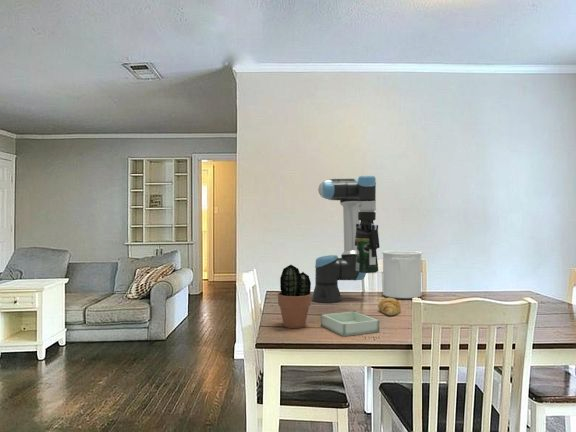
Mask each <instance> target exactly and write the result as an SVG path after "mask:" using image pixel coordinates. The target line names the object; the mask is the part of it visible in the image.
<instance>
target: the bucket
mask: <svg viewBox="0 0 576 432" xmlns="http://www.w3.org/2000/svg"><path fill="white" fill-rule="evenodd" d="M381 254H382V268H383V269H382V294H383V296H384V297H385V298H389V297H391V298H394V299H396V300H401V301H403V300H406V301H407V300H410V301H411V300H413V299H412V298H414V297H418V299H419V298H421V296H422V254H423V252H422V251H416V250H401V249H400V250H397V249H395V250H393V249H392V250H383V251H381Z"/></svg>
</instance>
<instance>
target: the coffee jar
mask: <svg viewBox="0 0 576 432" xmlns="http://www.w3.org/2000/svg"><path fill="white" fill-rule="evenodd" d="M369 235H370V236H372V231H371V233H367V232H366V231H365V230H358V231H356V237H355V240H356V243H357V257H356V272H358V273H359V272H360V273H366V274H375V273H377V272H379V263H378V262H379V261H378V255H377V251H376V265H369V249H370V243H369Z"/></svg>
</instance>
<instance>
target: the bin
mask: <svg viewBox="0 0 576 432" xmlns="http://www.w3.org/2000/svg"><path fill="white" fill-rule="evenodd" d="M320 326H321V327H323V328H324V329H327V330H329V331H331V332H333V333H336V334H338V335H340V336H342V337H349V336H357V335H366V334H367V335H368V334H373V333H374V334H375V333H380V320H379V319H378V318H375V317H371V316H368V315H366V314H363V313H361V312H357V311H343V312H335V313H334V312H333V313H327V314H326V313H324V314H321V315H320Z"/></svg>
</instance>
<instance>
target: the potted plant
mask: <svg viewBox="0 0 576 432" xmlns="http://www.w3.org/2000/svg"><path fill="white" fill-rule="evenodd" d="M279 280H280V281H279V282H280V283H279V284H280V289H279V290H280V292H278V293H277V302H278V303H277V304H278V306H279V308H280V314H281V319H282V324H283V326H284V327H285V328H289V329H301V328H304V327H305V326H306V324H307V323H306V322H307V319H308V318H307V317H308V314H309V313H308V312H309V308H310V306H311V303H312V293H311V288H312V286H311V285H312V282H311V279H310V275H308V274H306V273H305V272H304V271H302V272H300V269H299V268H297V267H296V266H294V265H293V264H289V265H287V266H286V267H284V268H283V269H282V271H281V275H280V278H279Z"/></svg>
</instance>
